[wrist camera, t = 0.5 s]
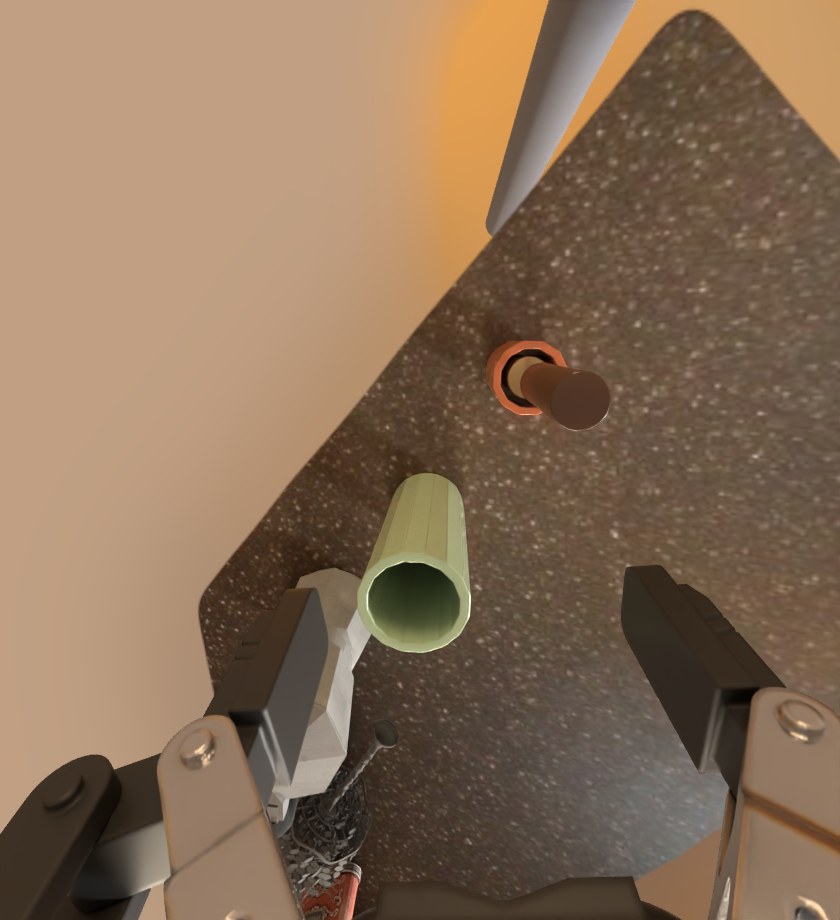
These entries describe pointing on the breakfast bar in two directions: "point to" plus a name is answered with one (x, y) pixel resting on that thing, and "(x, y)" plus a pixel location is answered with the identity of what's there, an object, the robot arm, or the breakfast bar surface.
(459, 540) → the vase
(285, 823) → the coffeepot
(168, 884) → the robot arm
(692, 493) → the breakfast bar surface
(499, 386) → the pot
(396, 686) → the breakfast bar surface
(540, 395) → the bottle brush
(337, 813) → the massage brush
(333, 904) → the lighter
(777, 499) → the breakfast bar surface
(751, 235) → the breakfast bar surface
